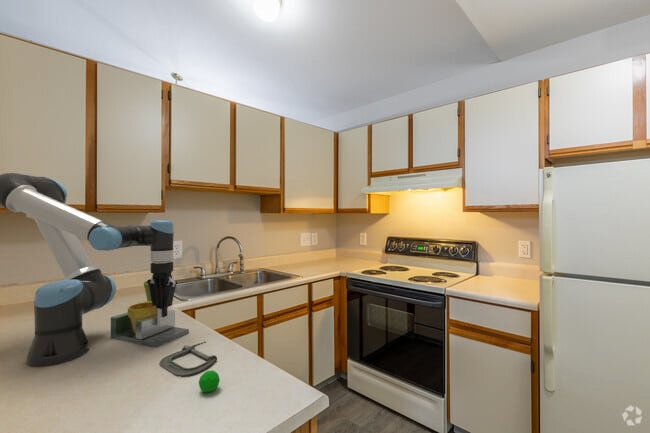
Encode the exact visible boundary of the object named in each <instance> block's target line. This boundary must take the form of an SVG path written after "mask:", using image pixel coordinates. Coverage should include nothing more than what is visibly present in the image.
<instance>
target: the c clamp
mask: <svg viewBox="0 0 650 433" xmlns="http://www.w3.org/2000/svg"><path fill="white" fill-rule="evenodd" d="M203 343H204V344H207V341H202V342H199V343H195V344H192V345H187V344H185V345H184V346H183V347H182V348H181V350H179V351H176V352H173V353H171V354H169V355H166V356H164V357H163V358H162V359H161V360H160V361H159V364H158V365H159V367H161V368H163V369H164V370H165V371H167V372H170V373H171V374H172V375H174V376H176V377H178V376H181V378H185V377H186V376H188V377H192V376H194V375H197V374H199V373H201V372H203V371H205V370H207V369H208V368H209V367H210V366H212V365H213V364H214V363H217V361H218V358H217V356H216V355H214V354H213V355H212V354H211V355H208V354H205V353H204V352H201V351H199V350H197V349H196V348H195V347H198V346H201V345H203ZM200 344H201V345H200ZM197 345H198V346H197ZM186 354H187V355H188V354H192V355H194V356H197V357H199V358H201V359H203V360H204V362H203V363H201V364H198V365H197V366H193V367H184V366H182V365H180V364H179V363H177V362H175V361H174V360H176V359H179V358H182V357H184V356H186ZM205 361H206V362H205Z"/></svg>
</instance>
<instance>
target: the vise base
mask: <svg viewBox="0 0 650 433" xmlns="http://www.w3.org/2000/svg"><path fill="white" fill-rule="evenodd" d="M189 331H190V330H189V329H188V328H184V327H178V326H177V327H176V326H174V327H171V328H169V329H166V330H164V331H161V332H159V333H156V334H154V335H151V336H149V337H146V338H144V339H138V338H136V333H134V331H133V327H132V323H131V319H130V317H128V311H126V312H124V313H122V314H118V315H117V314H116V315H114V316H111V317H110V338H112V339H115V340H119V341H120V340H121V341H125V342H130V343H134V344H138V345H143V346H147V347H151V348H155V349H156V348H158V347H161V346H163V345H166V344H168V343H170V342H173V341H174V340H177V339H180V338H181V337H183V336H186V335H188V334H190V332H189Z"/></svg>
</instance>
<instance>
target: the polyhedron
mask: <svg viewBox="0 0 650 433" xmlns="http://www.w3.org/2000/svg"><path fill="white" fill-rule="evenodd" d="M220 381H221V380H220V376H219V373H218V372H217V371H215V370H212V369H210V370H206V371H205V372H204V373H203V374H201V376H200V377H199V380H198V386H199V388H200V391H202V392H203V393H206V392H207V393H212V392H214V391H215V390H216V389H217V388H218V387H219V384H220Z"/></svg>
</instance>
